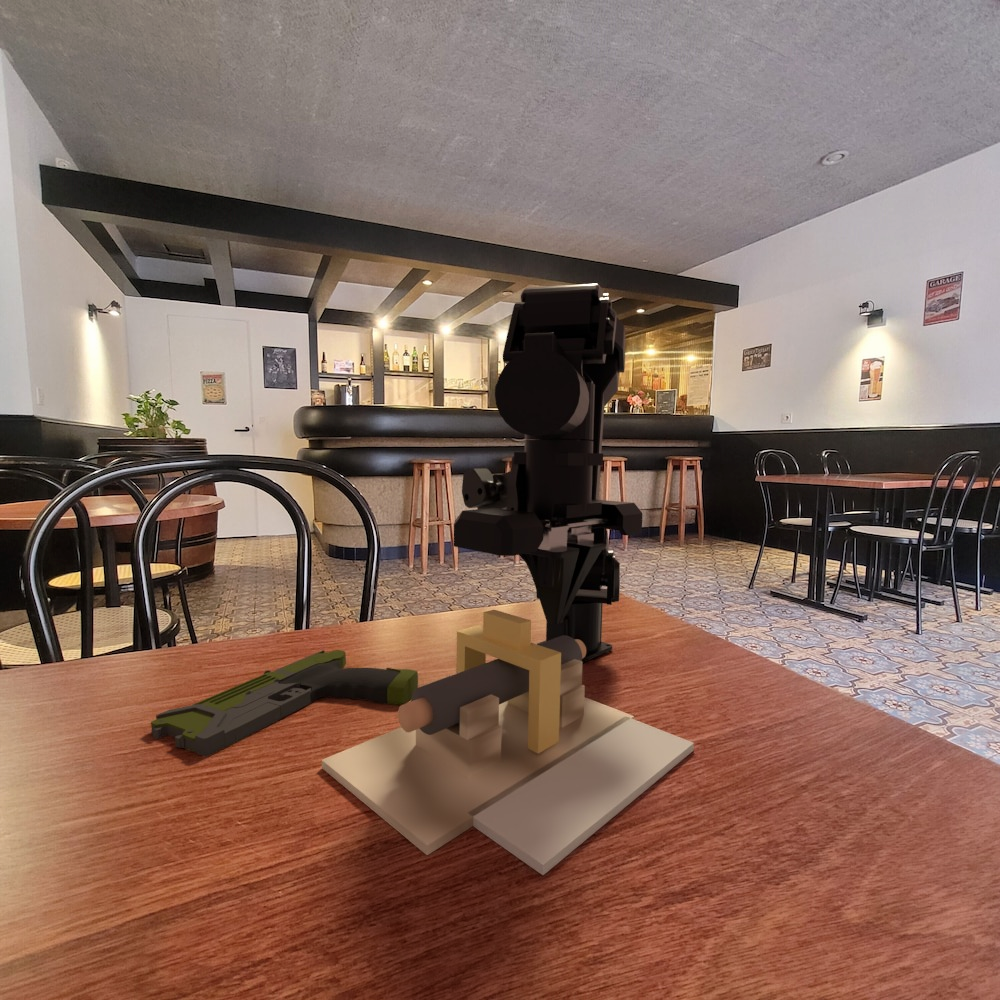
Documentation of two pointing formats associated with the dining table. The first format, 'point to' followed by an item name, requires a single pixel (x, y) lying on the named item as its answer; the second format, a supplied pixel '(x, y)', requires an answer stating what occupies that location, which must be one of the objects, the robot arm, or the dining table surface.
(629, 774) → the mat
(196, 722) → the gun
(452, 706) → the dark grey cylinder rod
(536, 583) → the robot arm
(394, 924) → the dining table surface
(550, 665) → the strap
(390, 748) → the holder
